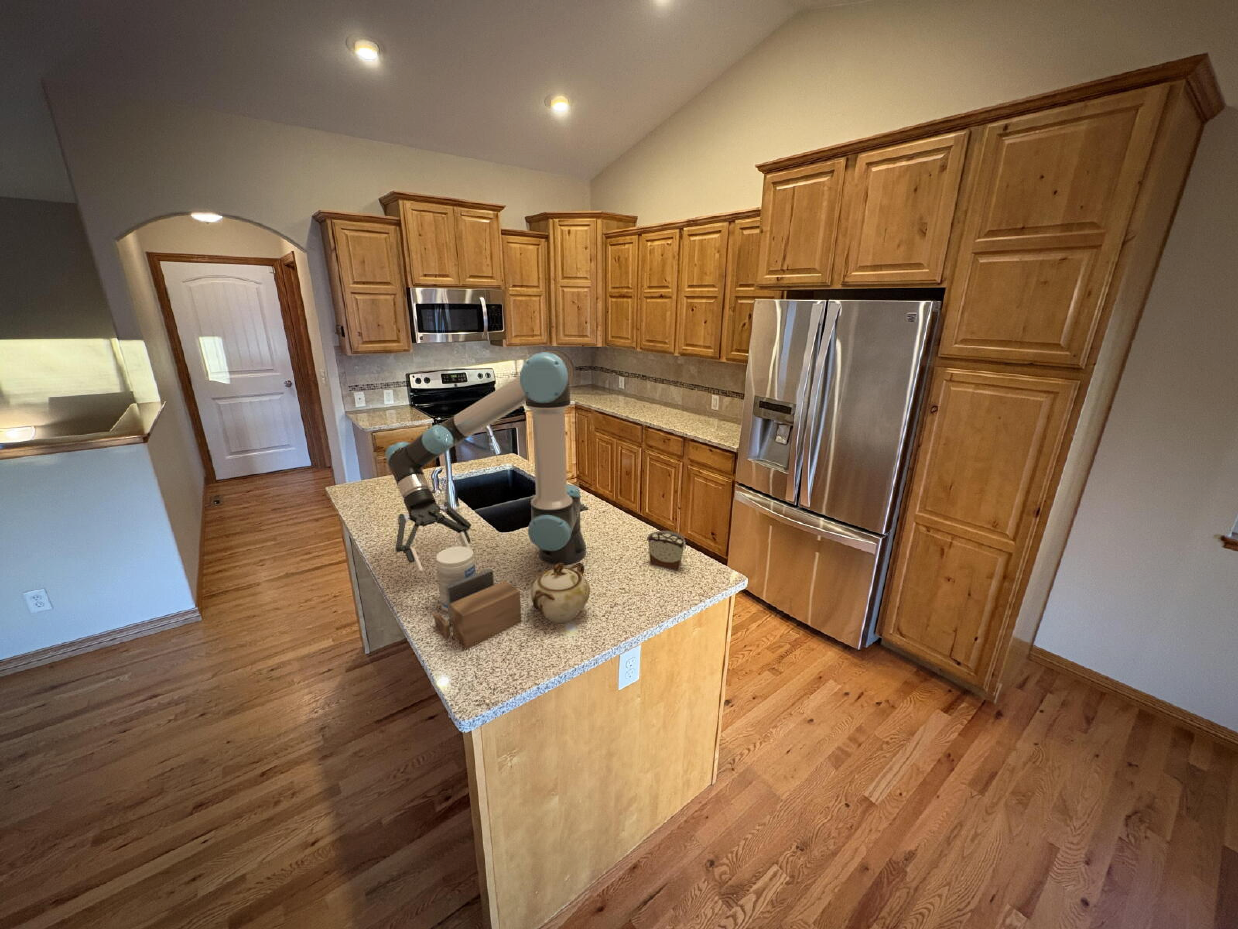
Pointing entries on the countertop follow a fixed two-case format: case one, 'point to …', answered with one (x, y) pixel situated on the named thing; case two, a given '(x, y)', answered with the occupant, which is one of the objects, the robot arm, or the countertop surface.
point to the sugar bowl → (561, 592)
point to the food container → (666, 549)
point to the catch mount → (482, 614)
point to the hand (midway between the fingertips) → (446, 563)
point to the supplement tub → (453, 568)
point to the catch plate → (468, 586)
